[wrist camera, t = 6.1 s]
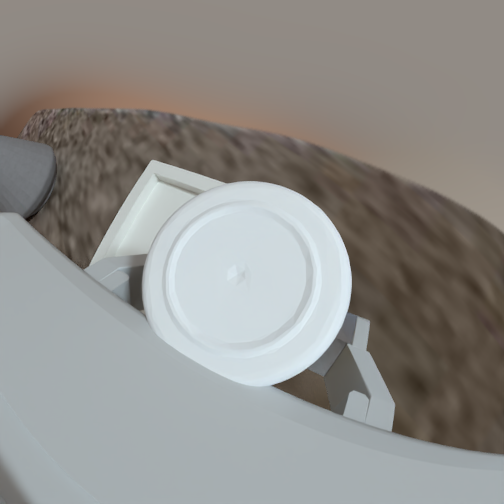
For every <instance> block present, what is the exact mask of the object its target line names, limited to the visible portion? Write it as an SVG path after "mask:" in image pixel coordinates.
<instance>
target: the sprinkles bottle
mask: <svg viewBox="0 0 504 504" xmlns="http://www.w3.org/2000/svg"><path fill="white" fill-rule="evenodd" d="M351 286H352V278H351V269H350V263H349V257H348V254H347V251H346V248H345V245H344V243H343V241H342V238H341V236H340V234H339V233H338V231H337V229H336V228H335V226H334V225H333V223H332V222H331V220H330V219H329V218H328V217H327V216H326V215H325V213H324V212H323V211H322V210H321V209H320V208H319V207H318V206H316V205H315V204H314V203H312V202H311V201H310V200H308V199H307V198H305V197H304V196H302V195H300V194H299V193H297V192H295V191H292V190H290V189H288V188H285V187H282V186H279V185H275V184H271V183H265V182H256V181H245V182H235V183H229V184H224V185H221V186H218V187H214V188H211V189H209V190H207V191H205V192H203V193H200V194H199V195H197V196H195V197H193V198H191V199H190V200H188V201H187V202H186V203H184V204H183V205H182V206H181V207H179V208H178V209H177V210H176V211H175V212H174V213H173V214H172V215H171V216H170V217H169V218H168V219H167V221H166V222H165V223H164V224H163V226H162V227H161V228H160V230H159V232H158V233H157V235H156V237H155V238H154V240H153V242H152V244H151V247H150V249H149V252H148V254H147V257H146V261H145V265H144V269H143V276H142V300H143V306H144V311H145V315H146V318H147V322H148V324H149V326H150V327H151V329H152V330H153V331H154V332H155V333H156V334H157V335H158V336H159V337H160V338H161V339H162V340H164V341H165V342H166V343H167V344H169V345H170V346H172V347H173V348H175V349H176V350H177V351H179V352H180V353H182V354H184V355H185V356H187V357H189V358H190V359H192V360H194V361H195V362H197V363H199V364H201V365H202V366H204V367H206V368H207V369H209V370H211V371H213V372H215V373H217V374H219V375H221V376H223V377H225V378H228V379H230V380H232V381H235V382H238V383H241V384H245V385H248V386H256V387H262V386H270V385H273V384H276V383H280V382H282V381H285V380H287V379H290V378H291V377H293V376H295V375H297V374H299V373H300V372H302V371H304V370H305V369H306V368H308V367H309V366H310V365H312V364H313V363H314V362H315V361H316V360H318V359H319V358H320V357H321V356H322V354H323V353H324V352H325V351H326V350H327V349H328V348H329V346H330V345H331V343H332V342H333V341H334V339H335V338H336V336H337V334H338V332H339V330H340V329H341V327H342V325H343V322H344V319H345V316H346V314H347V311H348V307H349V302H350V296H351Z"/></svg>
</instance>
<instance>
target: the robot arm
mask: <svg viewBox="0 0 504 504" xmlns="http://www.w3.org/2000/svg"><path fill="white" fill-rule="evenodd" d="M146 257H147V254H139V255H129V256H119V257H109V258H103V259H101V260H99V261H98V262H96V263H94V264H92V265H91V266H89V267H87V268H86V269H84V270H83V269H81V268H80V267H79V266H78V265H76V264H75V263H74V262H73V261H71V260H70V259H69V258H68V257H66V256H65V255H64V254H63V253H62V252H61V251H59V250H58V249H57V248H56V247H55V246H53V245H52V244H51V243H50V242H49V241H48V240H47V239H46V238H44V237H43V236H42V235H41V234H40V233H39V232H38V231H37V230H36V229H34V228H33V227H32V226H31V225H30V224H29V223H28V222H27V221H26V220H25V219H24V218H23V217H22V216H21V215H20V214H18V213H13V212H3V213H0V504H504V455H503V454H493V453H485V452H478V451H471V450H466V449H460V448H455V447H450V446H445V445H440V444H436V443H431V442H427V441H423V440H419V439H415V438H411V437H408V436H404V435H400V434H397V433H393V432H391V431H392V424H393V417H394V409H395V404H394V401H393V399H392V397H391V395H390V393H389V391H388V389H387V387H386V385H385V383H384V381H383V379H382V377H381V375H380V373H379V371H378V369H377V367H376V365H375V363H374V361H373V359H372V357H371V355H370V353H369V352H367V351H366V347H367V340H368V333H369V326H370V321H369V320H367V319H364V318H362V317H359V316H356V315H354V314H351V313H349V312H347V314H346V316H345V319H344V322H343V325H342V327H341V329H340V330H339V332H338V334H337V336H336V338H335V339H334V341H333V342H332V343H331V345H330V346H329V348H328V349H327V350H326V351H325V352H324V353H323V354H322V356H321V357H320V358H319V359H318V360H316V361H315V362H314V363H313V364H312V365H310V366H309V367H308V368H307V369H309V370H311V371H313V372H315V373H318V374H320V375H322V376H324V381H325V385H326V390H327V394H328V398H329V403H330V407H331V411H329V410H326V409H324V408H321V407H319V406H316V405H314V404H311V403H309V402H307V401H304V400H302V399H300V398H297V397H295V396H293V395H291V394H288V393H286V392H284V391H282V390H279V389H277V388H275V387H273V386H271V385H270V386H262V387H256V386H248V385H245V384H241V383H238V382H235V381H232V380H230V379H228V378H225V377H223V376H221V375H219V374H217V373H215V372H213V371H211V370H209V369H207V368H206V367H204V366H202V365H201V364H199V363H197V362H195V361H194V360H192V359H190V358H189V357H187V356H185V355H184V354H182V353H180V352H179V351H177V350H176V349H175V348H173V347H172V346H170V345H169V344H167V343H166V342H165V341H164V340H162V339H161V338H160V337H159V336H158V335H157V334H156V333H155V332H154V331H153V330H152V329H151V327H150V326H149V324H148V322H147V318H146V315H145V314H143V313H142V312H140V311H141V310H144V306H143V300H142V276H143V269H144V265H145V261H146Z"/></svg>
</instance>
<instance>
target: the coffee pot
mask: <svg viewBox="0 0 504 504" xmlns="http://www.w3.org/2000/svg"><path fill="white" fill-rule="evenodd" d="M55 180H56V157H55V155H54V152H53V149H52V148H51V147H50V146H48V145H46V144H42V143H37V142H32V141H27V140H22V139H17V138H12V137H7V136H2V135H0V211H1V213H3V212H13V213H18V214H20V215H21V216H22V217H23V218H24V219H26V218H28V217H29V216H32V215H34V214H35V213H37V212H38V211H39V210H40V209H41V208H42V206H43V205H44V204H45V202H46V201H47V199H48V198H49V196H50V194H51V192H52V190H53V187H54V184H55Z"/></svg>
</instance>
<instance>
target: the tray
mask: <svg viewBox="0 0 504 504" xmlns="http://www.w3.org/2000/svg"><path fill="white" fill-rule="evenodd" d="M224 184H226V183H223V182H220V181H217V180H214V179H211V178H208V177H205V176H202V175H199V174H196V173H193V172H190V171H187V170H184V169H181V168H177V167H174V166H171V165H168V164H165V163H161V162H158V161H155V160H152V161H151V162H150V163H149V165H148V166H147V168H146V169H145V171H144V172H143V174H142V175H141V177H140V178H139V180H138V181H137V183H136V184H135V186H134V187H133V189H132V191H131V192H130V194H129V195H128V197H127V199H126V200H125V202H124V203H123V205H122V207H121V208H120V210H119V212H118V213H117V215H116V217H115V219H114V220H113V222H112V224H111V226H110V227H109V229H108V231H107V233H106V235H105V236H104V238H103V240H102V242H101V244H100V246H99V248H98V249H97V251H96V253H95V255H94V257H93V259H92V261H91V263H90V265H89V266H91V265H92V264H94V263H96V262H98V261H99V260H101V259H103V258H109V257H119V256H129V255H139V254H148V252H149V249H150V247H151V244H152V242H153V240H154V238H155V237H156V235H157V233H158V232H159V230H160V228H161V227H162V226H163V224H164V223H165V222H166V221H167V219H168V218H169V217H170V216H171V215H172V214H173V213H174V212H175V211H176V210H177V209H178V208H179V207H181V206H182V205H183V204H184V203H186V202H187V201H188V200H190V199H191V198H193V197H195V196H197V195H199V194H200V193H203V192H205V191H207V190H209V189H211V188H214V187H218V186H221V185H224ZM140 312H142V313H143V314H145V311H144V310H141V311H140Z"/></svg>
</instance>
